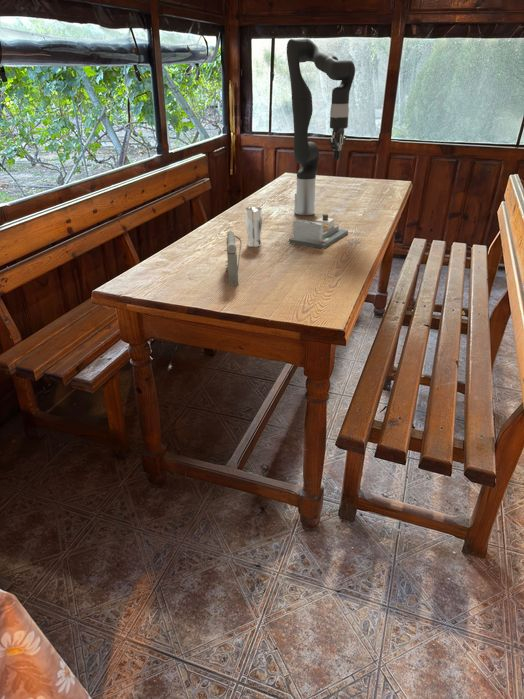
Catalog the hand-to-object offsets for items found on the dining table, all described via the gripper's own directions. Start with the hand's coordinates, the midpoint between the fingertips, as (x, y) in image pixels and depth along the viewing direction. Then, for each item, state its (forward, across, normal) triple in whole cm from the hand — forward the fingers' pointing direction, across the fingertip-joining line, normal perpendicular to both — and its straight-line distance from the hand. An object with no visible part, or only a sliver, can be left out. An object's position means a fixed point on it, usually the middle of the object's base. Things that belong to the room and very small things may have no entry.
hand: (336, 159), depth 214 cm
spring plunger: (+27, +15, +3) cm, 31 cm away
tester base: (+29, +20, +3) cm, 35 cm away
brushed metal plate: (+28, +31, +3) cm, 41 cm away
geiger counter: (+29, +76, -2) cm, 81 cm away
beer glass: (+29, +42, -16) cm, 54 cm away
